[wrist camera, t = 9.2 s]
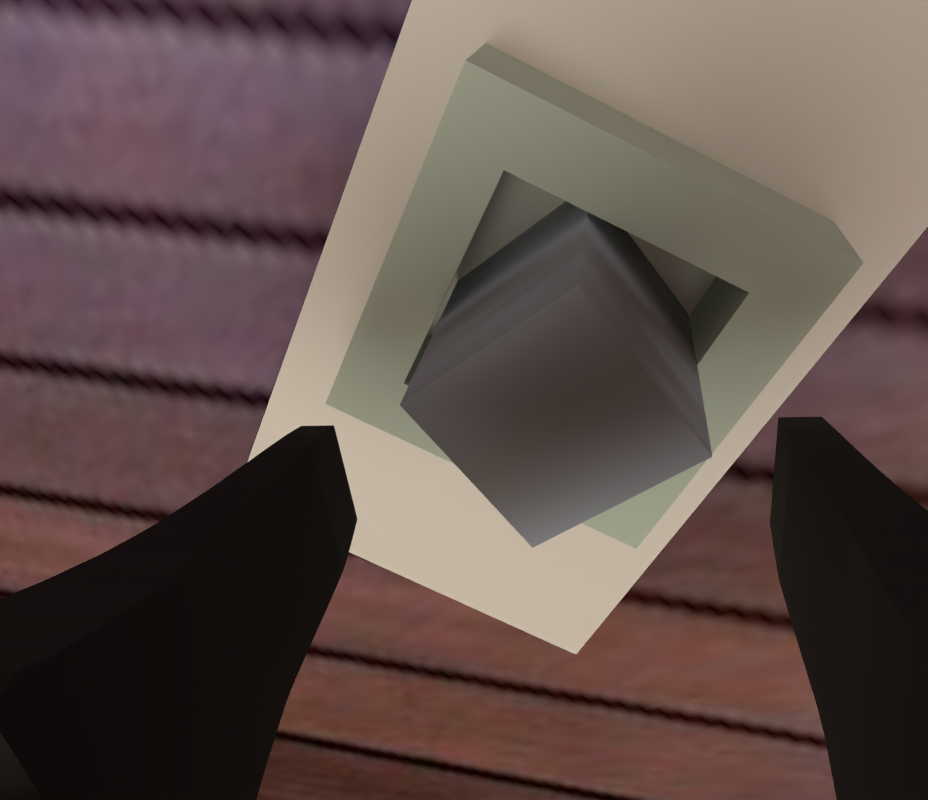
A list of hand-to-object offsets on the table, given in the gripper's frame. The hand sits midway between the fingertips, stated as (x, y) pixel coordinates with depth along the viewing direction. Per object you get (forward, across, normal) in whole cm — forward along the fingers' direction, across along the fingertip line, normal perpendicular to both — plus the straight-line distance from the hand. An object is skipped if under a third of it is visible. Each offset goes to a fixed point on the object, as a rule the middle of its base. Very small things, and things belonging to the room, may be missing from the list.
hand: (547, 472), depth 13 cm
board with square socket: (+8, 0, 0) cm, 8 cm away
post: (+7, 0, 0) cm, 7 cm away
